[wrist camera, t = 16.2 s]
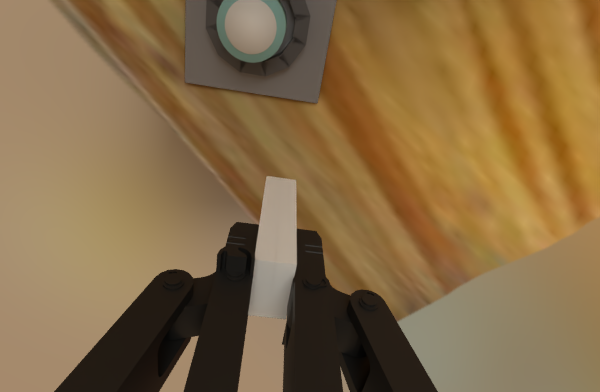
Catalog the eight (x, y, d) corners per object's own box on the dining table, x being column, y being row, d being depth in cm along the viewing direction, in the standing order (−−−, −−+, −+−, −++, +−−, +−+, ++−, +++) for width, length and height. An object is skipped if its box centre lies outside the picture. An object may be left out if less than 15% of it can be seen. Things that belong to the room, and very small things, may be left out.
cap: (231, -18, 39) (218, -20, 32) (291, -5, 39) (290, -5, 33) (226, 46, 42) (213, 56, 35) (282, 57, 42) (279, 68, 36)
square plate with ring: (189, -82, 37) (180, -87, 34) (344, -51, 38) (348, -54, 36) (187, 80, 45) (180, 86, 42) (317, 101, 46) (318, 107, 43)
